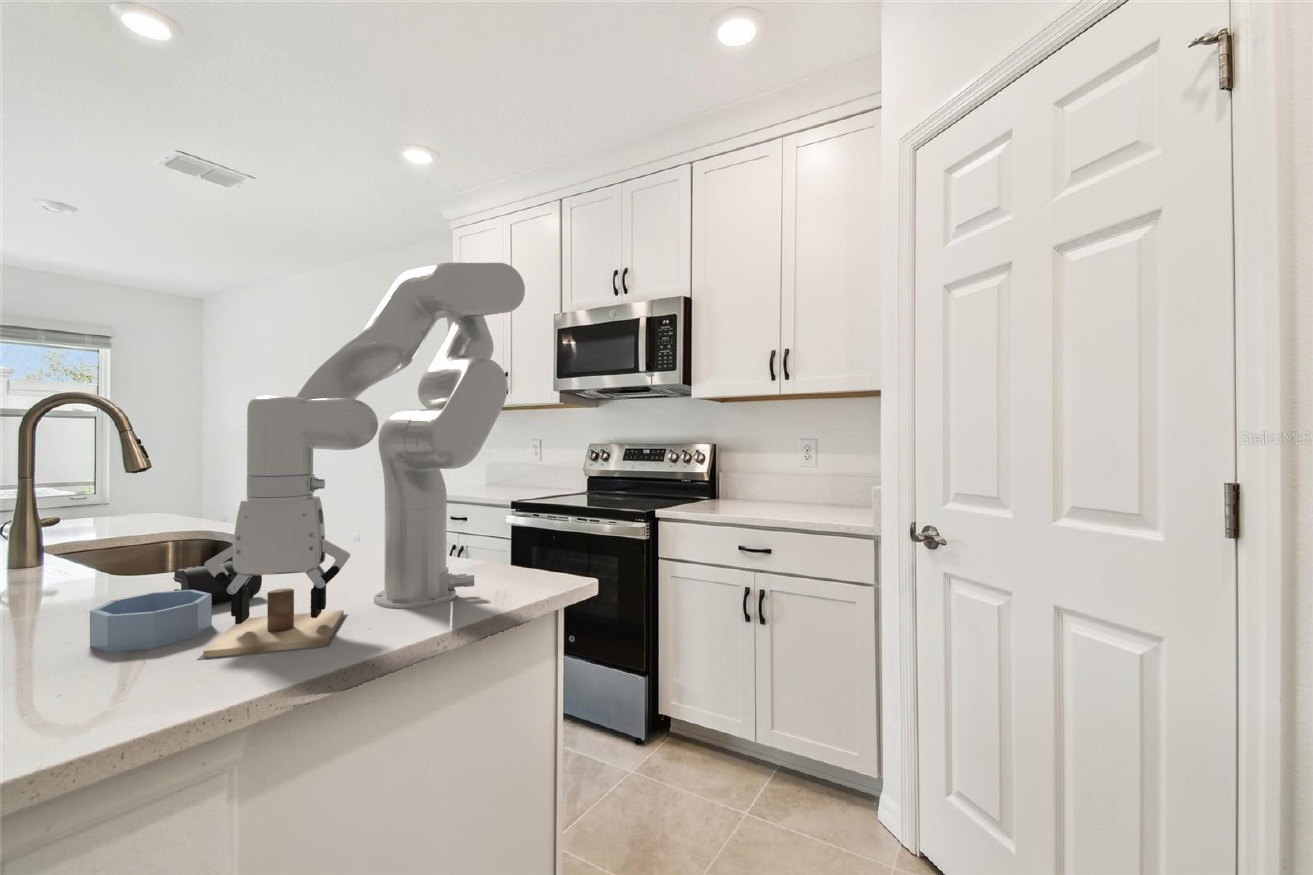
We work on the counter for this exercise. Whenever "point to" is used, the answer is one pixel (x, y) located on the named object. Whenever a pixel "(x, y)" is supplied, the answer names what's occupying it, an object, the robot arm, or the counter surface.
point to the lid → (276, 629)
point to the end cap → (212, 582)
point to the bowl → (150, 620)
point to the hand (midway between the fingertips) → (279, 617)
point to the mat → (288, 649)
